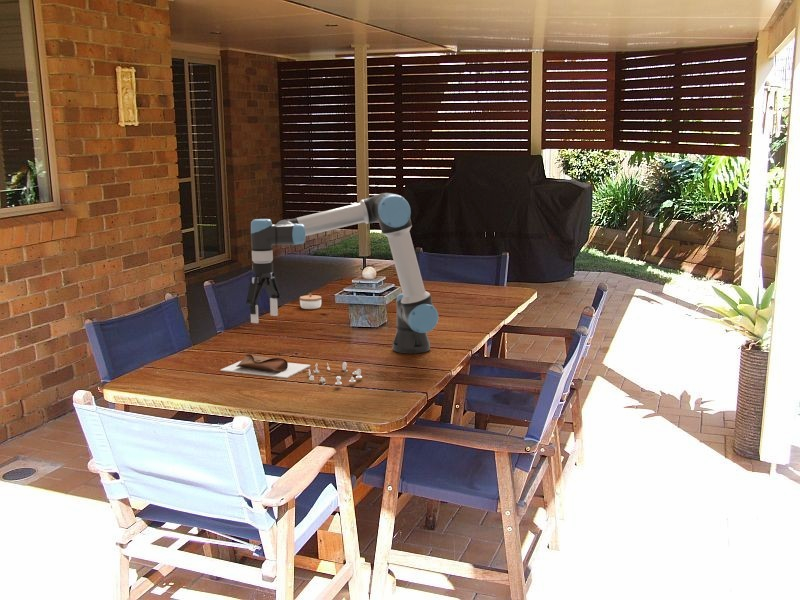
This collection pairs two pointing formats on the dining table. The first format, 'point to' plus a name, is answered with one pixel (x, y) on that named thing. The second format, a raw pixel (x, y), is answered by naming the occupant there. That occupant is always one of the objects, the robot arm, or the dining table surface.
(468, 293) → the dining table surface
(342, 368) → the game piece set
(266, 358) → the sunglasses case
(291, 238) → the robot arm
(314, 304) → the lidded jar
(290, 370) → the rubber mat
